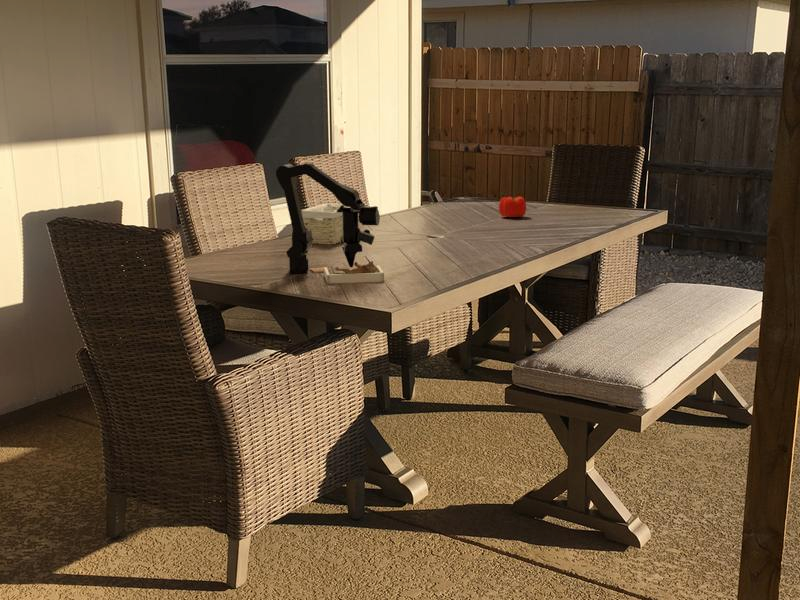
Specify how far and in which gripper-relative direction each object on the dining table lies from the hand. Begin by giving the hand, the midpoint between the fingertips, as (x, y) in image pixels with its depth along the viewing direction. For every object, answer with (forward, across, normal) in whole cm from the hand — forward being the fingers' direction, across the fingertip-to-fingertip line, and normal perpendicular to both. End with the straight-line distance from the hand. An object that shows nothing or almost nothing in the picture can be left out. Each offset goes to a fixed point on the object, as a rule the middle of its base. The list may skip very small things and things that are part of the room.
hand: (351, 267), depth 351 cm
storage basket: (+4, +75, +1) cm, 76 cm away
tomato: (+4, +124, -95) cm, 156 cm away
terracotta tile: (+3, +8, +11) cm, 14 cm away
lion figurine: (0, -2, +1) cm, 2 cm away
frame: (+2, -8, 0) cm, 8 cm away
